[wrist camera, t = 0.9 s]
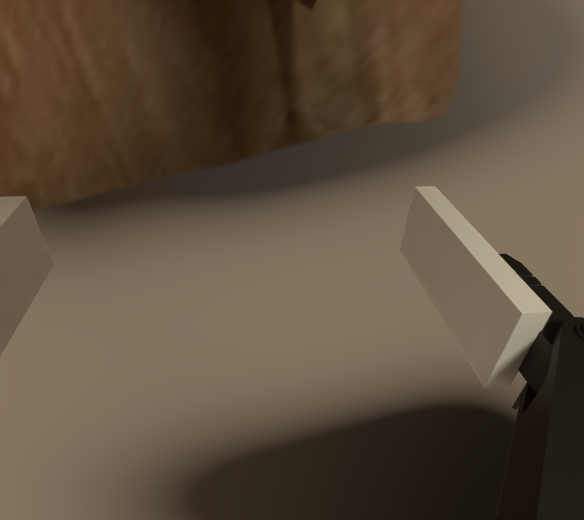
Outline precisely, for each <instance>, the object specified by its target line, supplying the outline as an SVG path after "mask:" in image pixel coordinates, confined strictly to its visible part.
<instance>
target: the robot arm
mask: <svg viewBox="0 0 584 520" xmlns="http://www.w3.org/2000/svg"><path fill="white" fill-rule="evenodd" d="M400 250H401V251H402V253H403V255H404V257H405V258H406V260H407V262H408V263H409V265H410V266H411V268H412V270H413V271H414V273H415V275H416V276H417V278H418V279H419V281H420V283H421V284H422V286H423V288H424V289H425V291H426V293H427V294H428V296H429V298H430V299H431V301H432V302H433V304H434V306H435V308H436V309H437V311H438V313H439V314H440V316H441V317H442V319H443V321H444V322H445V324H446V326H447V327H448V329H449V331H450V332H451V334H452V336H453V337H454V339H455V341H456V342H457V344H458V345H459V347H460V348H461V350H462V352H463V354H464V355H465V357H466V358H467V360H468V362H469V364H470V365H471V367H472V368H473V370H474V372H475V373H476V375H477V377H478V378H479V380H480V382H481V383H482V385H483V387H484V388H488V387H499V386H509V385H511V383H512V382H513V380H514V378H515V376H516V375H517V373H518V371H520V373H521V374H522V376H523V377H524V378H525V380H526V381H527V383H526V385H525V387H524V388H523V390H522V392H521V393H520V395H519V397H518V398H517V400H516V401H515V403H514V405H513V407H512V408H514V409H517V408H518V406H519V408H518V413H517V419H516V423H515V428H514V433H513V437H512V442H511V447H510V452H509V457H508V461H507V466H506V471H505V476H504V480H503V485H502V490H501V495H500V500H499V505H498V509H497V515H496V519H495V520H584V318H582V317H574V316H573V315H572V314H571V313H570V312H569V311H568V310H567V309H566V308H565V307H564V306H563V305H562V304H561V303H560V302H559V301H558V300H557V299H556V298H555V297H554V296H553V295H552V294H551V293H550V292H549V291H548V290H547V289H546V288H545V287H544V286H542V285H541V283H540V282H539V281H538V279H536V277H533V276H532V273H531V272H529V271H528V269H527V268H526V267H525V266H524V265H523V264H522V263H520V262H519V261H517V260H515V259H514V258H512V257H510V256H509V255H507V254H498V253H497V252H496V251H495V250H494V249H493V248H492V247H491V246H490V245H489V244H488V242H487V241H486V240H485V239H484V238H483V237H482V236H481V235H480V234H479V233H478V232H477V231H476V230H475V229H474V228H473V226H472V225H471V224H470V223H469V222H468V221H467V220H466V219H465V218H464V217H463V216H462V215H461V214H460V213H459V211H458V210H457V209H456V208H455V207H454V206H453V205H452V204H451V203H450V202H449V201H448V200H447V199H446V198H445V197H444V195H443V194H442V193H441V192H440V191H439V190H438V189H437V188H436V187H435V186H430V187H429V186H428V187H415V189H414V193H413V197H412V201H411V206H410V210H409V214H408V218H407V222H406V227H405V231H404V235H403V239H402V243H401V248H400ZM52 266H53V263H52V260H51V258H50V255H49V253H48V250H47V248H46V245H45V243H44V240H43V237H42V235H41V232H40V230H39V227H38V225H37V222H36V220H35V217H34V214H33V212H32V209H31V207H30V204H29V201H28V199H27V196H21V197H0V356H1V354H2V353H3V351H4V349H5V348H6V346H7V344H8V342H9V340H10V339H11V337H12V335H13V334H14V332H15V330H16V329H17V326H18V325H19V323H20V322H21V320H22V318H23V316H24V314H25V313H26V311H27V310H28V308H29V306H30V304H31V303H32V301H33V299H34V297H35V296H36V294H37V292H38V290H39V289H40V287H41V285H42V284H43V282H44V280H45V278H46V277H47V275H48V273H49V272H50V270H51V268H52Z"/></svg>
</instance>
